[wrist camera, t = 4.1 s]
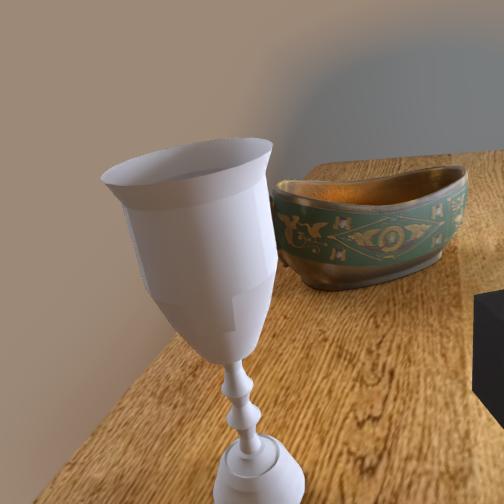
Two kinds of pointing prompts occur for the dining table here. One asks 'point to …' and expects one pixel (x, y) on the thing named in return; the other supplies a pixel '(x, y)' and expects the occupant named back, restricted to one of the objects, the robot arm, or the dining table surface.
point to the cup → (367, 225)
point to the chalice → (214, 283)
